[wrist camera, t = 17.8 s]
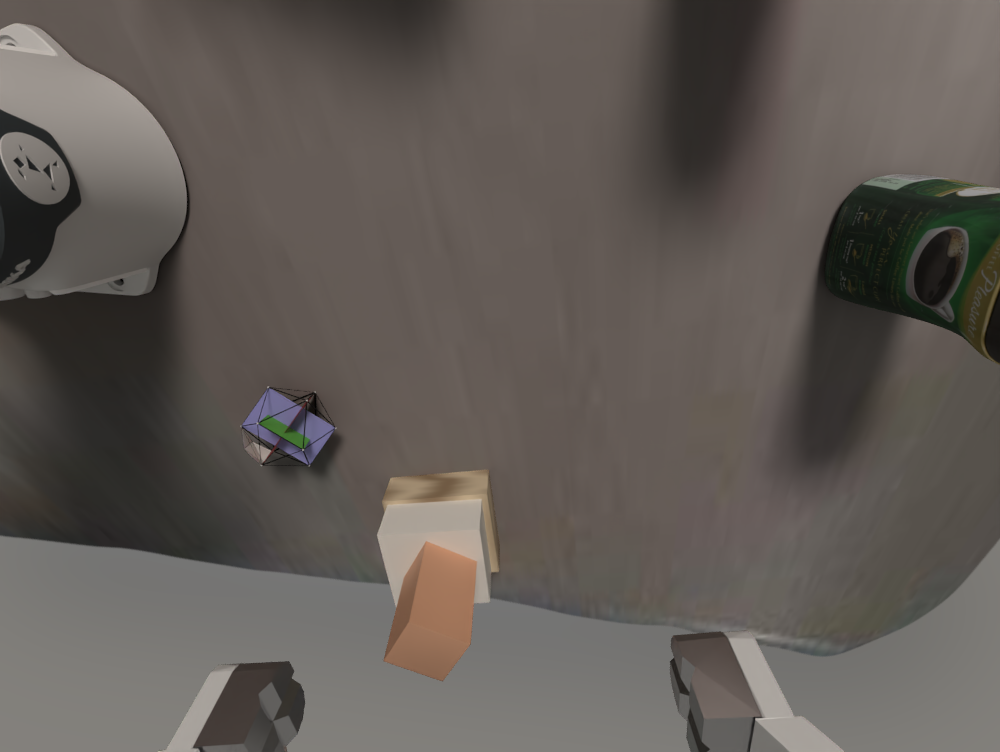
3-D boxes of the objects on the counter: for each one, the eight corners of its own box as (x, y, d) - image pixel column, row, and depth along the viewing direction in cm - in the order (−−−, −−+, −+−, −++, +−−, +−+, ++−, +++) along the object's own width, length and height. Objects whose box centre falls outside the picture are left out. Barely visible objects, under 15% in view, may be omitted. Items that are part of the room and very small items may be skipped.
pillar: (403, 577, 44) (383, 661, 37) (425, 541, 42) (408, 621, 35) (453, 596, 45) (442, 681, 38) (477, 561, 43) (470, 644, 36)
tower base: (410, 549, 54) (402, 578, 50) (391, 475, 49) (382, 501, 46) (499, 542, 53) (499, 571, 49) (488, 467, 49) (487, 493, 45)
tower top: (404, 574, 50) (396, 607, 46) (387, 504, 46) (377, 535, 42) (491, 569, 49) (490, 602, 46) (481, 498, 45) (479, 529, 42)
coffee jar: (906, 295, 40) (1191, 400, 23) (809, 298, 40) (1023, 403, 24) (948, 169, 36) (1330, 186, 19) (840, 172, 36) (1126, 193, 20)
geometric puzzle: (286, 357, 41) (223, 435, 37) (356, 401, 43) (303, 480, 39) (278, 383, 47) (222, 452, 43) (339, 420, 49) (292, 491, 45)
